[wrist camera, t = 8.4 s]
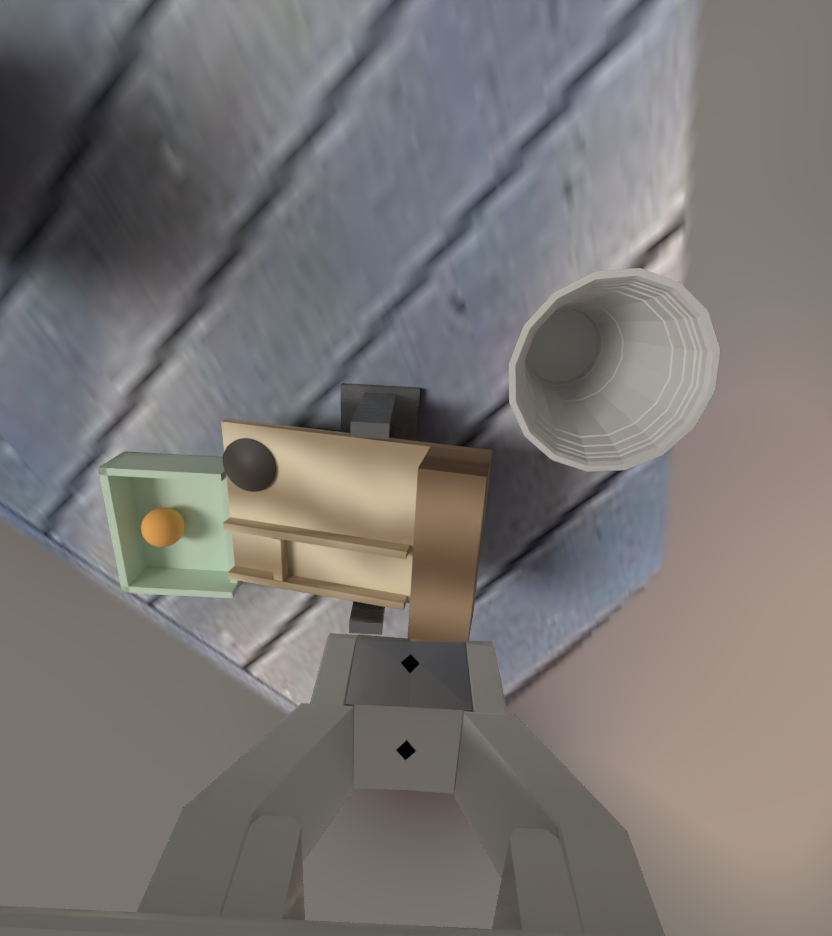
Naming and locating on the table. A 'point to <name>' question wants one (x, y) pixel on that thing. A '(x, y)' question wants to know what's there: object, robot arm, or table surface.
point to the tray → (195, 498)
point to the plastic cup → (613, 370)
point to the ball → (162, 527)
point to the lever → (359, 519)
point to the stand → (378, 418)
